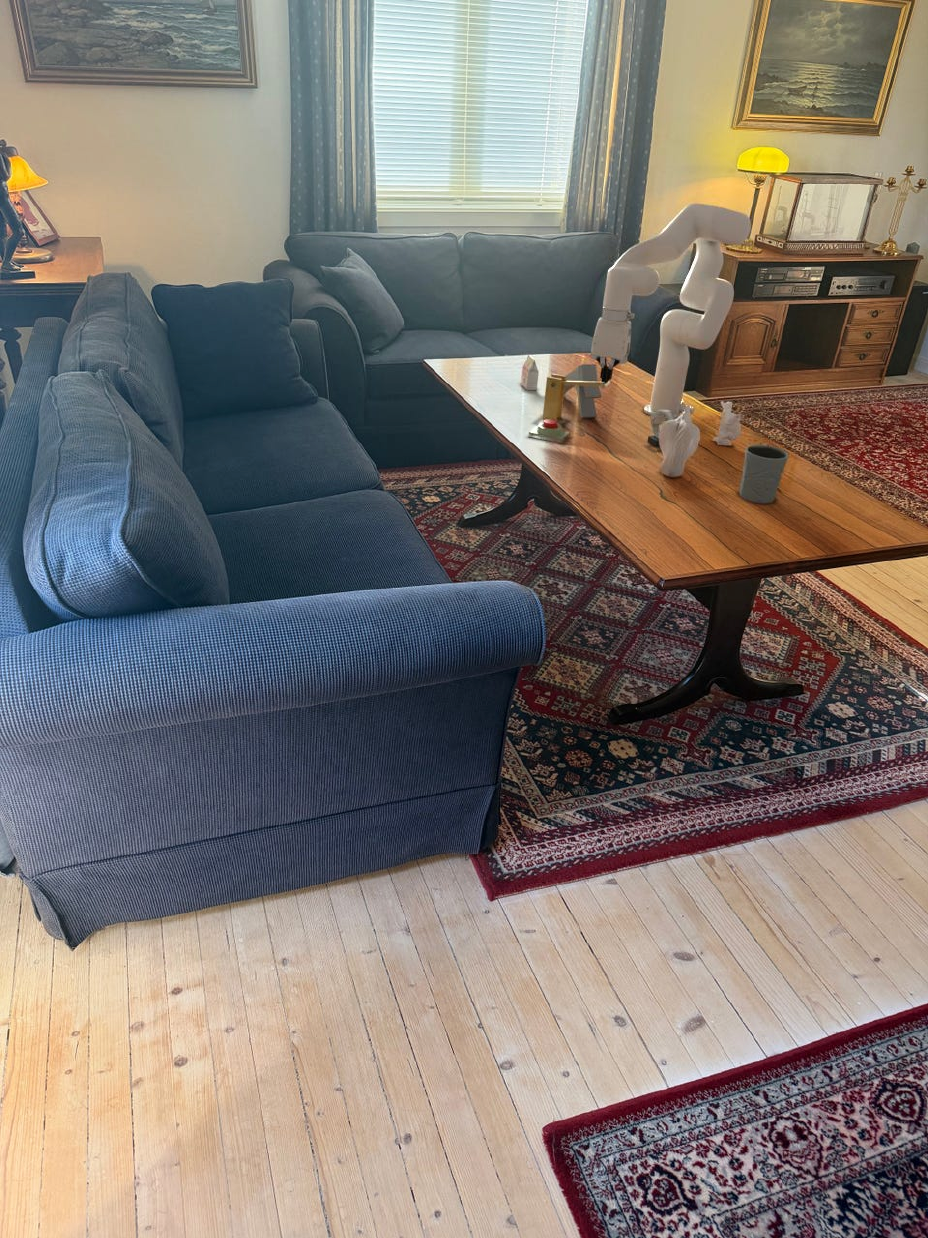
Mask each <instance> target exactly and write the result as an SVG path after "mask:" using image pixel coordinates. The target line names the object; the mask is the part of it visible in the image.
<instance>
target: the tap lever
mask: <svg viewBox="0 0 928 1238" xmlns="http://www.w3.org/2000/svg"><path fill="white" fill-rule="evenodd" d="M559 379H562V378H559ZM610 384H611V380H609V382H607V383H605V382H601V381H598V382H592V381H562V384H561V386H562V385H583V386H599V387H600V388H601V389H602V390H603V389H605V388H606V387H607V386H609V385H610Z"/></svg>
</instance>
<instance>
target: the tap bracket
mask: <svg viewBox="0 0 928 1238" xmlns="http://www.w3.org/2000/svg"><path fill="white" fill-rule="evenodd" d="M559 378H562V379H559ZM562 381H566V376H565V375H563V374H557V373H551V374H550V376H547V377H546V383H545V392H544V402H543V411H542V420H546V419H552V420H556V421H557V422H558V419H561V418H562V414H563V405H564V399H565V395H564V391H565V385H562V386H561V384H562Z"/></svg>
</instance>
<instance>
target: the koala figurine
mask: <svg viewBox="0 0 928 1238" xmlns="http://www.w3.org/2000/svg"><path fill="white" fill-rule="evenodd" d="M719 403H720V406H721V407H722V408H723V410H722V412H721V420H720V426H719V428H718V434H717V437H714V438H713V439H712V442H715V443H716V444H717V446H732V445H733V443H732V442H733V441H736V440H738V439H739V438H740V435H741V434H742V427H741V421H742V415H741V414H739V413H738V414H736V413H735V412H732V408H733V402H732V401H726V402H724V400H721V401H720V402H719Z"/></svg>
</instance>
